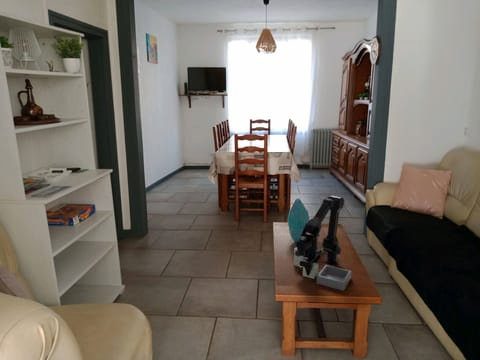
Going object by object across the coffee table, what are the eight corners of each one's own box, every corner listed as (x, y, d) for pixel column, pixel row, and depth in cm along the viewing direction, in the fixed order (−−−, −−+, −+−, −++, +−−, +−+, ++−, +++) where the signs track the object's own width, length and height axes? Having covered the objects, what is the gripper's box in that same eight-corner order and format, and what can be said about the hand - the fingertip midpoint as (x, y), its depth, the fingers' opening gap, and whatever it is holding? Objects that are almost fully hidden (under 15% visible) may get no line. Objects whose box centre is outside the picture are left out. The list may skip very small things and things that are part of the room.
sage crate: (307, 270, 199) (307, 261, 198) (318, 273, 196) (318, 263, 194) (302, 275, 194) (303, 265, 192) (314, 279, 191) (314, 268, 189)
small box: (300, 260, 212) (301, 243, 209) (309, 262, 208) (309, 246, 205) (293, 265, 206) (294, 248, 203) (302, 268, 202) (302, 251, 200)
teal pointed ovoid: (309, 245, 231) (311, 201, 224) (288, 245, 231) (289, 201, 224) (306, 237, 243) (308, 195, 235) (286, 238, 243) (287, 195, 236)
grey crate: (325, 271, 197) (325, 264, 196) (350, 278, 190) (351, 270, 189) (316, 283, 186) (316, 275, 185) (343, 290, 179) (343, 282, 178)
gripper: (303, 236, 202) (303, 261, 206) (290, 249, 187) (289, 275, 191) (323, 240, 197) (321, 266, 201) (310, 253, 181) (309, 281, 185)
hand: (310, 272), depth 194 cm, fingers open, 8 cm apart
